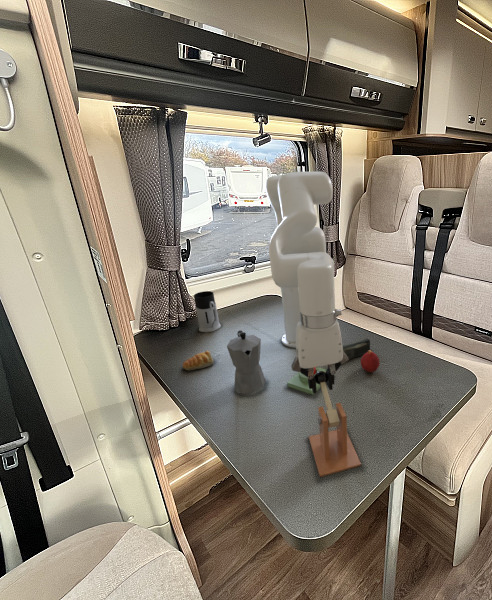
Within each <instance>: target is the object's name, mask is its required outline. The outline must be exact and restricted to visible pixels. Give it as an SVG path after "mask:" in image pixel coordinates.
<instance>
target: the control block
mask: <svg viewBox="0 0 492 600" xmlns="http://www.w3.org/2000/svg"><path fill="white" fill-rule="evenodd" d="M326 369H327V368H323V367H320V366H318V367H316V373H317V372H318V371H324V372H326ZM316 373H315V374H316ZM315 374H314V376H315ZM286 385H287V387H288V388H291V389H294V390H297V391H300V392H303V393H306V394H309V395H311V396H314V395H315V394H316V393H313V391H312V389H309V385H308V377H306V376H305V375H303V374H302V373H301V372H297V373H296V374H295V375H293V377H292V378H290V379H289V380H288V381H287V382H286ZM320 389H321V386H320V385H319V384H317V383H316V391H317V392H318V391H319V390H320Z"/></svg>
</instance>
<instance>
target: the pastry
mask: <svg viewBox="0 0 492 600" xmlns="http://www.w3.org/2000/svg"><path fill="white" fill-rule="evenodd" d="M214 363H215V362H214V358H213V356H212V354H211V352H210V351H209V350H205V351H202V352H198V353H196V354H194V355H193V356H192V357H189V358H188V359H186V360H185V361H183V363H182V369H183V370H185V371H194V370H200V369H204V368H206V367H210V366H212V365H213V364H214Z"/></svg>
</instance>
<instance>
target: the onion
mask: <svg viewBox="0 0 492 600" xmlns="http://www.w3.org/2000/svg"><path fill="white" fill-rule="evenodd" d="M360 366H361V368H362V369H363V370H364V371H366V372H367V373H373V372H376V371H377V370H378V369H379V367H380V358H379V356H378V355H377V354H376V353H375V352H373V351H372V350H371V349H370V350H369V351H368V352H367V353H365V354H363V355H361V358H360Z"/></svg>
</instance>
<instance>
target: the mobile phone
mask: <svg viewBox="0 0 492 600" xmlns="http://www.w3.org/2000/svg"><path fill="white" fill-rule="evenodd" d="M342 347H343V351H344V352H345V354H346V355H347V357H348V358H349V359H348V360H352V359H353V358H357V357H361V356H363V355H364V354H365V353H367V352H368V351H369V350H371V340H370V339H369V338H364V339H361V340H357V341H354V342H351V343H350V342H349V343H347V344H342Z"/></svg>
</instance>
